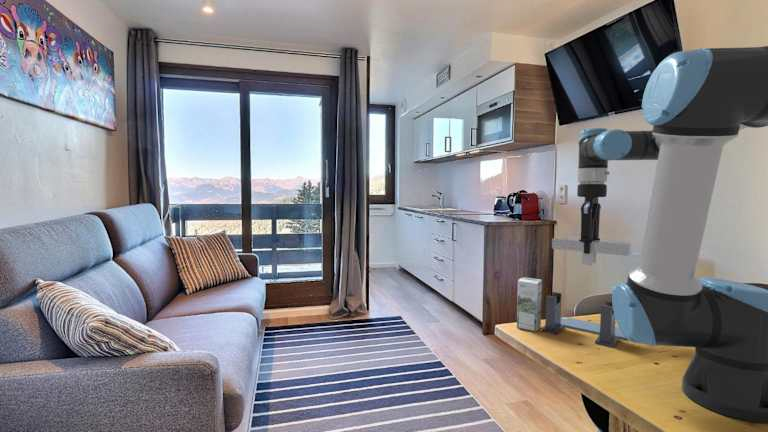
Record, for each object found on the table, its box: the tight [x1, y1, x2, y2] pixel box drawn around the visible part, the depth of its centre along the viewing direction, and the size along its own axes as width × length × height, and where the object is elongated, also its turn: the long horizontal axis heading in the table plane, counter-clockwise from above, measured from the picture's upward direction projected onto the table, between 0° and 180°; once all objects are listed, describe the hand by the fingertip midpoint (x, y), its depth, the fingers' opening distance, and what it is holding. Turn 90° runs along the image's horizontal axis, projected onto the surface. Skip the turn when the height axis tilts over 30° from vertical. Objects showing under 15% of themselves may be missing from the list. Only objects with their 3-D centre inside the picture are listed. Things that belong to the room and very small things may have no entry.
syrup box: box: [516, 276, 543, 333], centre depth 116 cm, size 6×6×14 cm
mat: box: [561, 315, 627, 341], centre depth 117 cm, size 8×21×1 cm, turn 50°
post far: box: [540, 291, 565, 336], centre depth 115 cm, size 7×4×10 cm, turn 140°
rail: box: [551, 237, 631, 257], centre depth 115 cm, size 4×20×3 cm, turn 50°
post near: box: [594, 300, 620, 348], centre depth 106 cm, size 7×4×10 cm, turn 140°
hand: (588, 263), depth 116 cm, fingers closed on rail, 3 cm apart
